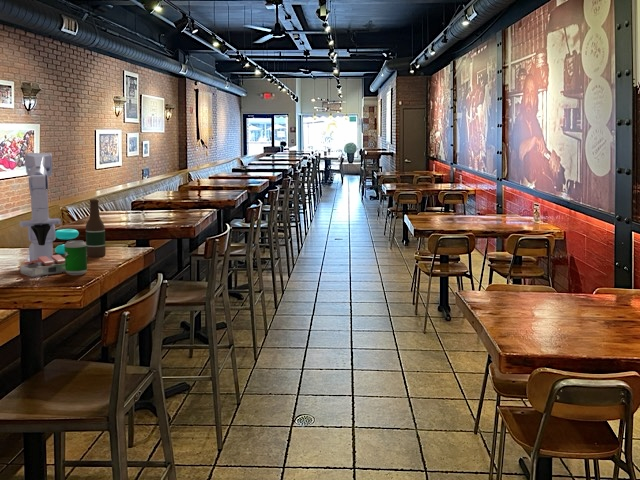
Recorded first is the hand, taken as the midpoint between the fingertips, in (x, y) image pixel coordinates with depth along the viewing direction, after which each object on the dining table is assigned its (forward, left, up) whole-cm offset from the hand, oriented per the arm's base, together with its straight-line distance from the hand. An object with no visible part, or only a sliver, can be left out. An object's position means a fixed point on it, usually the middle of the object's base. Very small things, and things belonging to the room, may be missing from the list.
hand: (41, 245), depth 240 cm
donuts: (-35, +28, -11) cm, 46 cm away
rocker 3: (-1, +7, -6) cm, 9 cm away
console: (-1, +2, -10) cm, 11 cm away
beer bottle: (-20, +33, -11) cm, 40 cm away
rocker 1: (-1, -3, -6) cm, 7 cm away
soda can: (+9, +8, -11) cm, 16 cm away
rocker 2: (-1, +2, -6) cm, 6 cm away
